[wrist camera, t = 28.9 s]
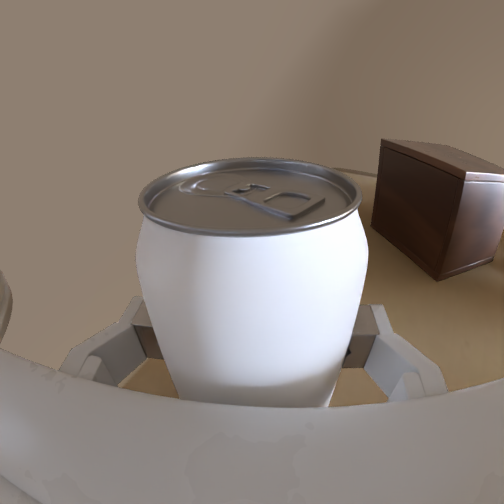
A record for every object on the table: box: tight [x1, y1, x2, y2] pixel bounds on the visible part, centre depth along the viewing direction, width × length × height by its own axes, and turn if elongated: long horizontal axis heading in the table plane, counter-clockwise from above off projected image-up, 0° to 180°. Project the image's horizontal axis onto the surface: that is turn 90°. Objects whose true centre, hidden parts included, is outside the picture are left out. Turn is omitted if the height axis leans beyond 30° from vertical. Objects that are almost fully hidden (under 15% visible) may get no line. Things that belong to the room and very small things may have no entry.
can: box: [135, 157, 368, 408], centre depth 10 cm, size 6×6×12 cm
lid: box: [381, 139, 504, 182], centre depth 24 cm, size 12×12×1 cm
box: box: [370, 146, 504, 281], centre depth 27 cm, size 11×12×10 cm
